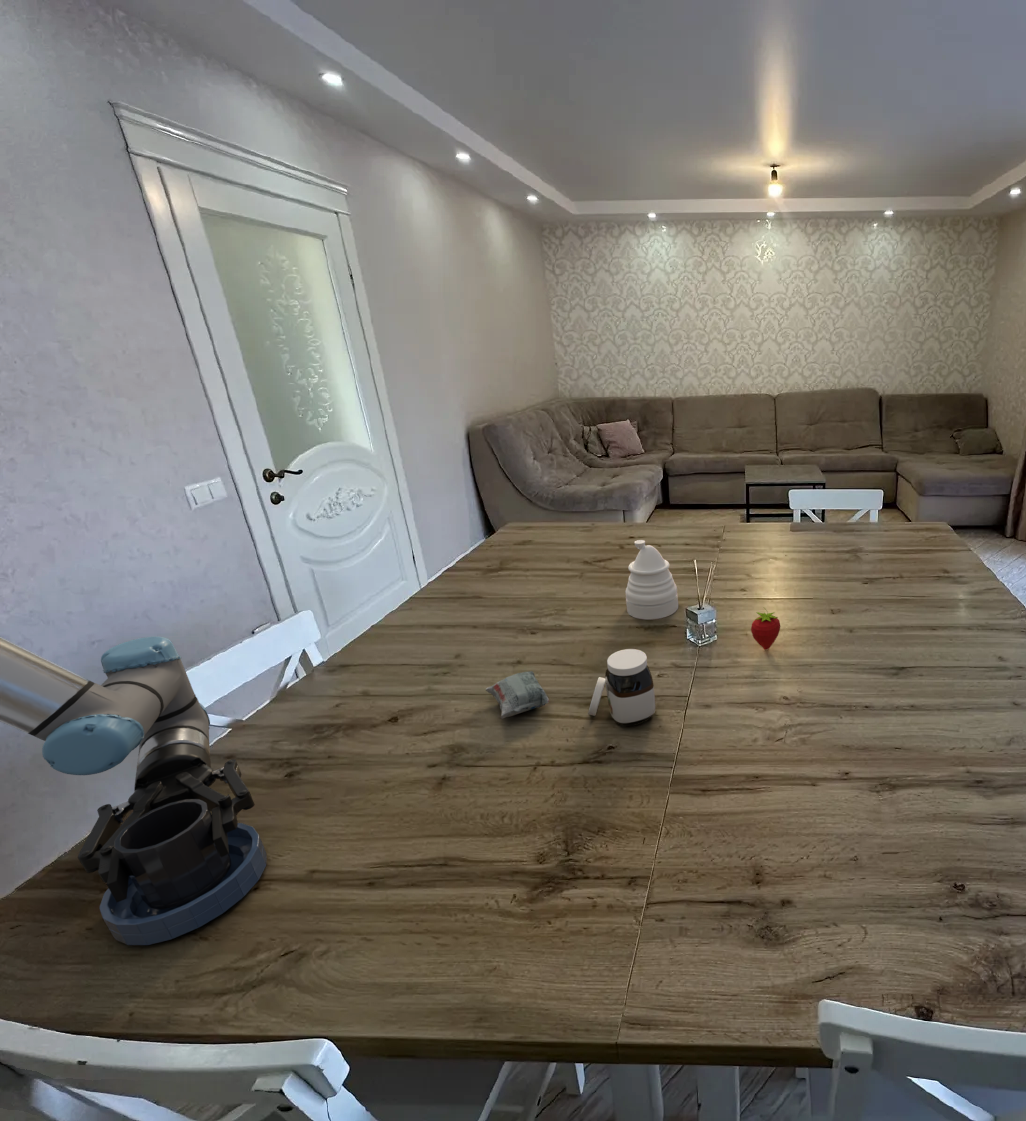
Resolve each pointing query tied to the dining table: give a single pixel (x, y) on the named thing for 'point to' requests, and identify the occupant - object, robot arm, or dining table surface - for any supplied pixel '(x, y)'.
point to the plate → (153, 926)
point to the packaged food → (518, 694)
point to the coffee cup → (172, 854)
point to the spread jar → (626, 688)
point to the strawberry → (765, 629)
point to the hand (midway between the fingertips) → (171, 868)
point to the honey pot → (650, 585)
